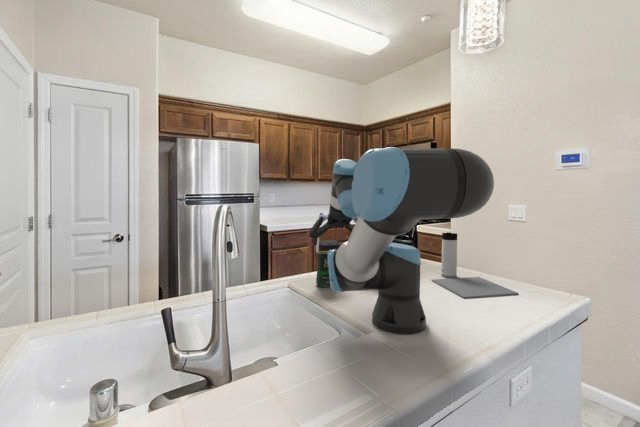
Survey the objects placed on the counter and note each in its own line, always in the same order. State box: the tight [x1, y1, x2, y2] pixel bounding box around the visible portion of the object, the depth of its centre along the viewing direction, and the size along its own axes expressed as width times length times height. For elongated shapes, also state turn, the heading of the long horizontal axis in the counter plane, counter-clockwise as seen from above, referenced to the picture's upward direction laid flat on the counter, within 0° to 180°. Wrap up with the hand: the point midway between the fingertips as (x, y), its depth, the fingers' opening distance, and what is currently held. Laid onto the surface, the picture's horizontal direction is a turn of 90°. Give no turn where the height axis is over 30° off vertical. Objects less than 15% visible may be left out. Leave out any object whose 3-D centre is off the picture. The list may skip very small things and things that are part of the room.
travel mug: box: [441, 231, 458, 279], centre depth 139 cm, size 6×7×20 cm
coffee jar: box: [315, 239, 340, 288], centre depth 128 cm, size 10×8×19 cm
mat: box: [431, 276, 519, 299], centre depth 124 cm, size 22×22×1 cm
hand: (335, 250), depth 117 cm, fingers open, 13 cm apart
